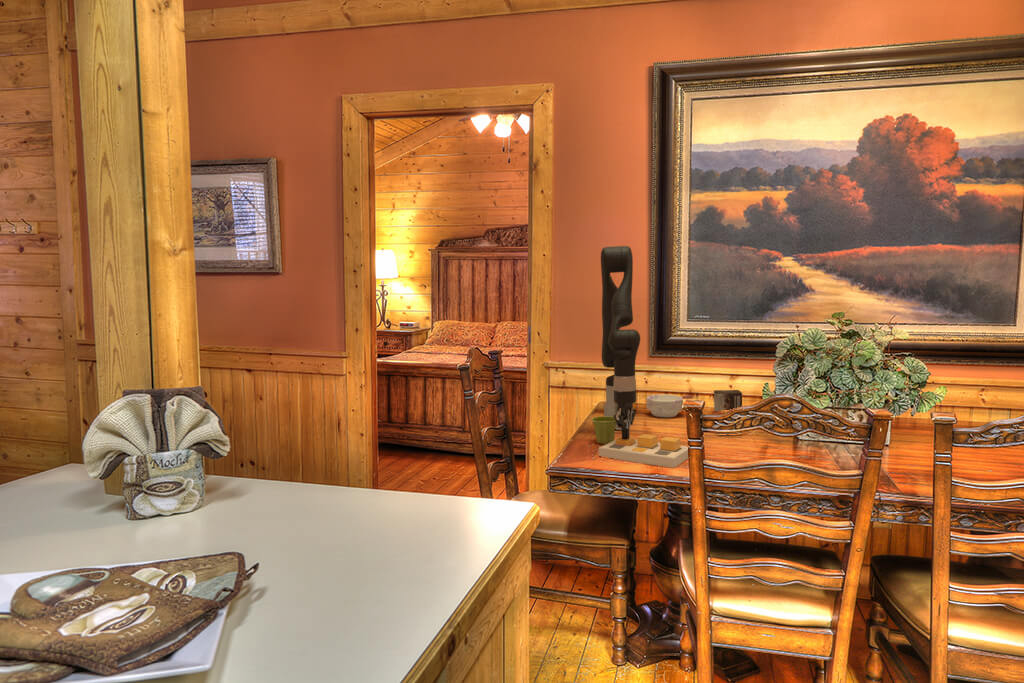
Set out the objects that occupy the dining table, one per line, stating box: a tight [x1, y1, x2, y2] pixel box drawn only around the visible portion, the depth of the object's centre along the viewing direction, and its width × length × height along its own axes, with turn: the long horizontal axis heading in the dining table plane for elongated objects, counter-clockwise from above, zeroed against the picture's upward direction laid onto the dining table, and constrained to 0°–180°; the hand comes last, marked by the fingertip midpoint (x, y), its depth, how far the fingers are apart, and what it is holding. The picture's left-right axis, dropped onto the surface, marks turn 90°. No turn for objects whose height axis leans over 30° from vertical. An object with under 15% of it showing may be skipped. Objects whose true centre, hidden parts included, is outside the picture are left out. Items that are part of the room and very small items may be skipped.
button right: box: [659, 436, 682, 451], centre depth 213 cm, size 5×5×3 cm
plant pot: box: [591, 416, 616, 445], centre depth 236 cm, size 9×9×9 cm
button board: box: [598, 439, 689, 469], centre depth 217 cm, size 26×16×3 cm, turn 55°
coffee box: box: [713, 389, 744, 435], centre depth 243 cm, size 9×6×16 cm
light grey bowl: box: [645, 393, 684, 419], centre depth 278 cm, size 15×15×8 cm
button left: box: [615, 436, 637, 446], centre depth 223 cm, size 5×5×3 cm
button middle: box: [636, 433, 659, 448], centre depth 218 cm, size 5×5×3 cm
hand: (625, 438), depth 222 cm, fingers closed
